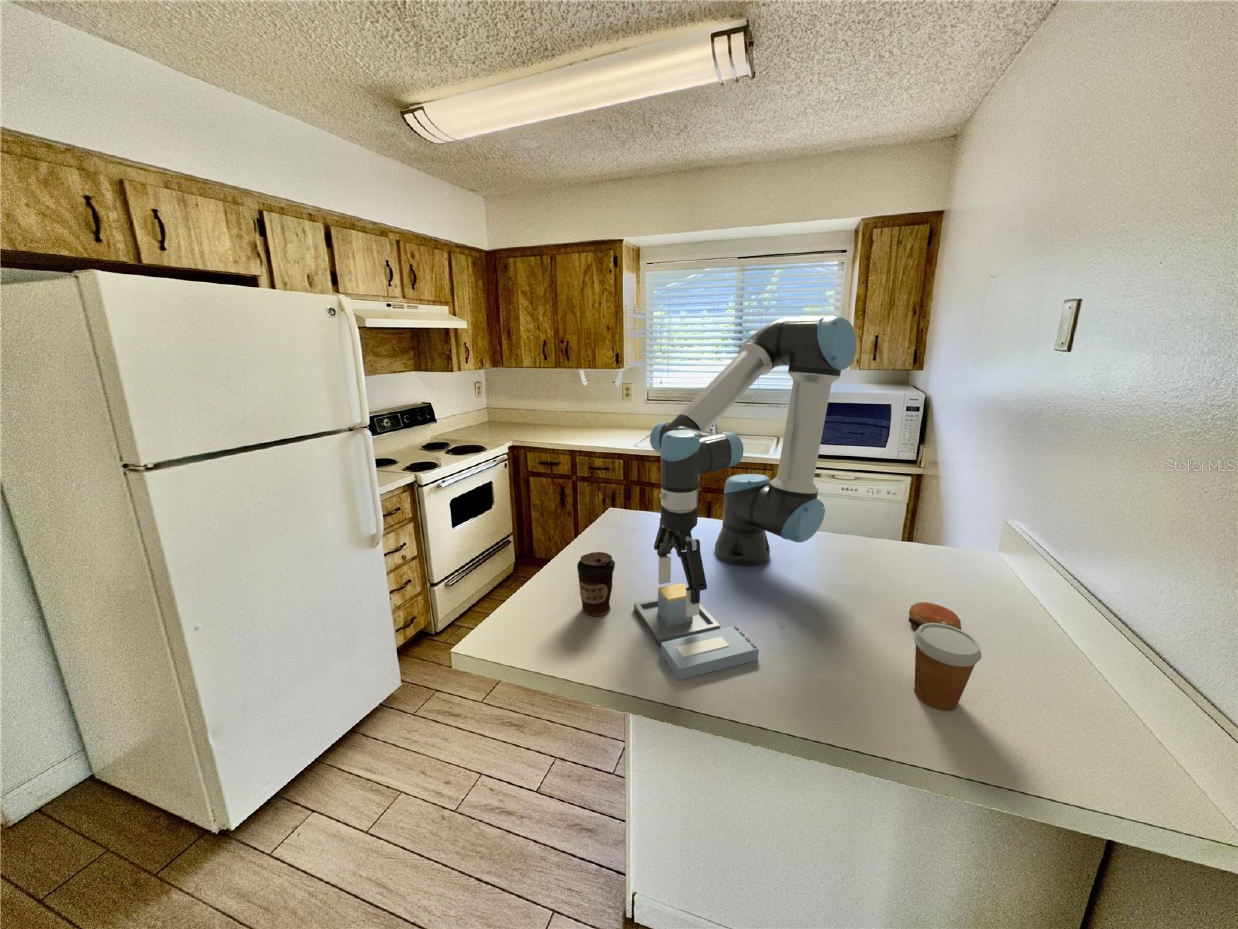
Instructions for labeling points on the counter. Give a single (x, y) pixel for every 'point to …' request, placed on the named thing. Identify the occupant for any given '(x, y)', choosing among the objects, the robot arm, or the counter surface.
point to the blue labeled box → (708, 652)
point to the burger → (932, 615)
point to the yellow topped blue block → (673, 604)
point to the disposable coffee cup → (943, 664)
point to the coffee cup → (595, 582)
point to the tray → (663, 633)
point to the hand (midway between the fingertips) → (677, 598)
